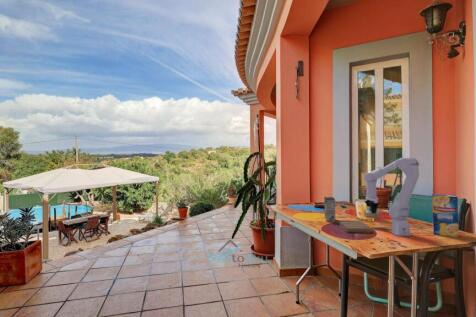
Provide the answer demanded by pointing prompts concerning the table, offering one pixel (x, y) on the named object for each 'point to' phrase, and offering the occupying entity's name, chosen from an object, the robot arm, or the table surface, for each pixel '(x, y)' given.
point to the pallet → (371, 214)
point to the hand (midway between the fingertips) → (371, 212)
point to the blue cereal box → (445, 215)
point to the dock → (354, 226)
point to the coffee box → (329, 208)
